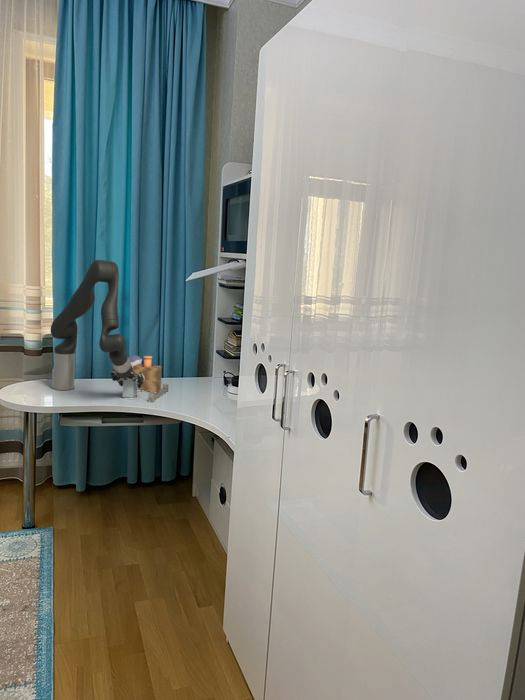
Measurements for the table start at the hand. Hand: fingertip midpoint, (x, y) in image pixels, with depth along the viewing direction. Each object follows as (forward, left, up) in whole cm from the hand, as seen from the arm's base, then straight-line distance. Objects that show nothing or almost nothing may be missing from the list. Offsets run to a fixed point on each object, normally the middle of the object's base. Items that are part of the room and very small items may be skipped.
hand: (131, 385), depth 275 cm
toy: (-8, +25, -6) cm, 27 cm away
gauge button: (+2, +16, +3) cm, 16 cm away
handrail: (+11, +6, -5) cm, 14 cm away
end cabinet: (+2, +16, -5) cm, 17 cm away
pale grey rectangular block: (0, -1, -5) cm, 6 cm away
